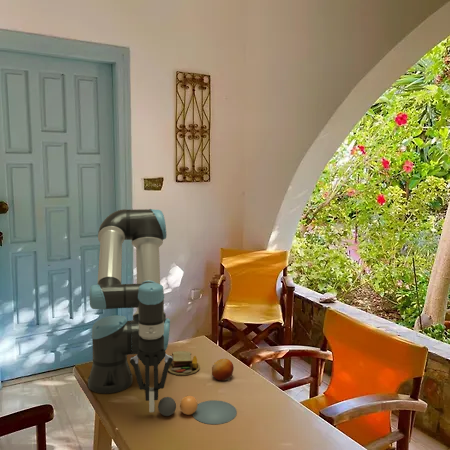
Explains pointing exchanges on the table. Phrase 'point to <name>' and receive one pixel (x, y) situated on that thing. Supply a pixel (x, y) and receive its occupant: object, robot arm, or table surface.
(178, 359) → the toy sandwich meal
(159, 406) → the dark grey ball
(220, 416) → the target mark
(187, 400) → the orange ball
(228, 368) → the fruit
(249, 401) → the table surface
